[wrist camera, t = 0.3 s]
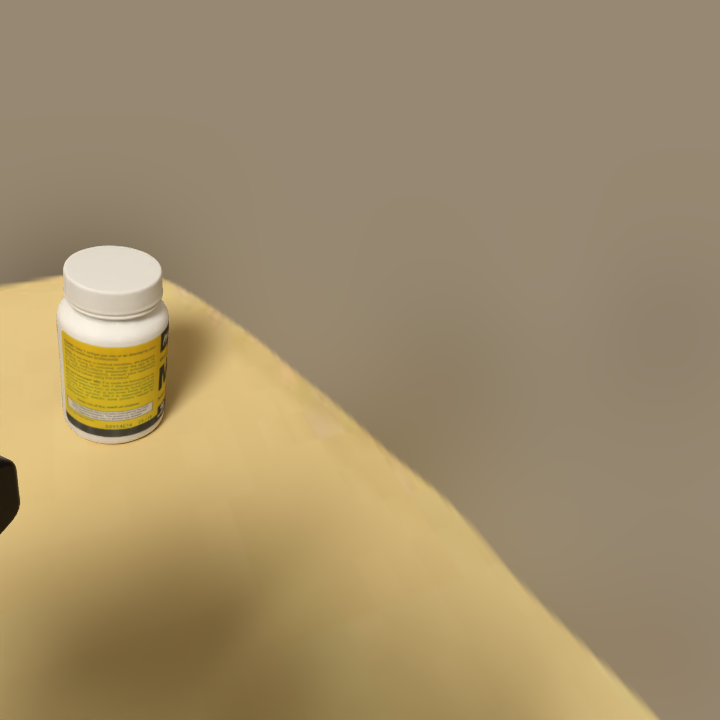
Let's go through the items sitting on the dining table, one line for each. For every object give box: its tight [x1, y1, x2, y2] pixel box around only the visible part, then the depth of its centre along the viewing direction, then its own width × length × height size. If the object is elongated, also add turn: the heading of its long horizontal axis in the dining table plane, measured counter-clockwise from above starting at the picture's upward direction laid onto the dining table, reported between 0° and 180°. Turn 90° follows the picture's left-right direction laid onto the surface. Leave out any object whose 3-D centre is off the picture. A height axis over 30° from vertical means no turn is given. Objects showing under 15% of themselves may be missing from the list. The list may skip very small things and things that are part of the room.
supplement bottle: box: [57, 246, 169, 444], centre depth 30 cm, size 5×5×8 cm
